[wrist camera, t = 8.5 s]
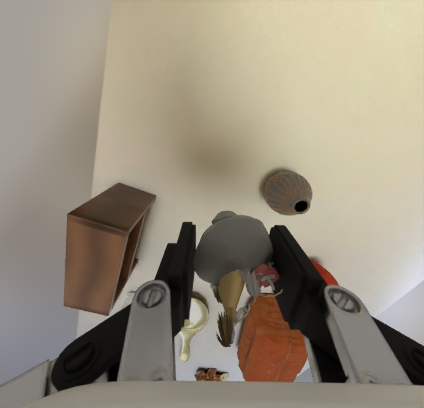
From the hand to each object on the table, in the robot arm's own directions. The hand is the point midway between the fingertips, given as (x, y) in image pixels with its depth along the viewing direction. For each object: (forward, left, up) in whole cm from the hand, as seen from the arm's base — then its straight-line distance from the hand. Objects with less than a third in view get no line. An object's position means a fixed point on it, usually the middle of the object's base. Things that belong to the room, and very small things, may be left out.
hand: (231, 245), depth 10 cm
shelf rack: (-18, -13, -21) cm, 31 cm away
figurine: (0, 0, -1) cm, 1 cm away
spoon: (-6, -49, -21) cm, 53 cm away
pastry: (+3, -75, -21) cm, 78 cm away
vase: (+11, -3, -21) cm, 24 cm away
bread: (+17, -45, -21) cm, 53 cm away
